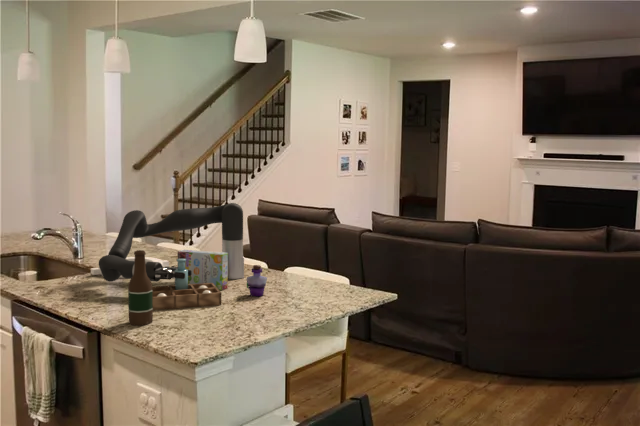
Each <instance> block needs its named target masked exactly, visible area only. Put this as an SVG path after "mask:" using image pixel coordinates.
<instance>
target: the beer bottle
mask: <svg viewBox="0 0 640 426" xmlns="http://www.w3.org/2000/svg"><path fill="white" fill-rule="evenodd" d="M133 255H134V257H135V263H134V274H133V277H132V278H131V279H129V282H128V289H127V293H128V294H127V297H128V300H127V301H128V302H127V303H128V322H129V325H131V326H136V327H139V326H140V327H141V326H148V325H150V324H152V323H153V320H154V319H153V318H154V316H153V315H154V314H153V311H154V310H153V295H152V287H153V283H152V281H150V279H149V278H148V276H147V273H146V264H145V257H146V255H147V254H146V251H145V250H142V249H140V250H139V249H138V250H134V252H133Z"/></svg>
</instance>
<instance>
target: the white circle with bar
mask: <svg viewBox="0 0 640 426" xmlns="http://www.w3.org/2000/svg"><path fill="white" fill-rule="evenodd" d="M126 260H128V261H135V256H127V257H126ZM145 261H149V262H159V263H161V264H162V267H163V268H165V267H170V261H169V260H167V259H165V260H162V259H160V258H156V257H150V256H149V257H148V256H145ZM90 274H91V275H93V276H95V275H100V276H101V277H103V275H102V273H101V270H100V267H99V266H98V267H92V268H90ZM118 279H125V278H124V277H122V275H121V276H120V277H119V278H118Z"/></svg>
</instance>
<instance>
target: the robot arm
mask: <svg viewBox="0 0 640 426" xmlns="http://www.w3.org/2000/svg"><path fill="white" fill-rule="evenodd" d="M212 224H221V243H222V244H221V248H222V249H221V252H224V253H228V280H239V279H242V278H243V279H244V278H245V257H244V241H243V240H244V210H243V207H242V206H241V205H239V204H238V203H236V202H230V203H227V204H226V203H225V204H222V205H219V206H212V207H211V206H210V207H195V208H194V207H193V208H184V209H183V208H182V209H177V210H174V211H172V212H171V213H170V214H168V215H167V216H165V217H164V218H163V219H162V220H160V221H157V222H153V223H149V224H148V222H147V217H146V215H145V213H144V212H143V211H141V210H138V209H136V210H131V211H129V212H126V214H125V215H124V217H123V220H122V223H121V227H120V229H119V232H118V234H117V237H116V240H115V241H114V243H113V245H112V246H111V247H110V250H109V252H108V254H106V255H104V256H102V257H101V258H99V260H98V268H99V267H100V270H101V273H102V275H103V276H102V278H103V279H104V280H105V281H107V282H111V283H112V282H115V281H118V279H120V278H119V277H120V276H121V275H122V277H124V278H123V279H127V280H128V279H129V280H131V278H132V277H133V274H134V263H135V261H128V260H126V257H129V253H130V252H131V249H132V245H133V240H134V239H138V238H139V239H140V238H145V237H149V236H154V235H159V234H160V235H161V234H165V233H171V232H179V231H188V230H189V231H190V230H195V229H198V228H202V227H205V226H209V225H212ZM145 264H146V273H147V276H148V278H149V279H150V281H151V282H153V283H154V282H155V283H157V282H159V281H161V280H170V281H171V280H172V279H173V280H175V278H180V279H184V278H185V273H182V272H175V270H176V269H178V266H175V265H172V266H168V267H162V264H161V263H159V262H149V261H145ZM191 275H192V271H191V270H188V276H191Z"/></svg>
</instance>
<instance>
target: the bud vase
mask: <svg viewBox="0 0 640 426" xmlns="http://www.w3.org/2000/svg"><path fill="white" fill-rule="evenodd" d="M185 261H186V259H178V258H176V262H177V267H178V269H176V270H175V272H182V273H185V278H184V279H180V278H175V279H174V285H175V290H184V289H188V269H185Z"/></svg>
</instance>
